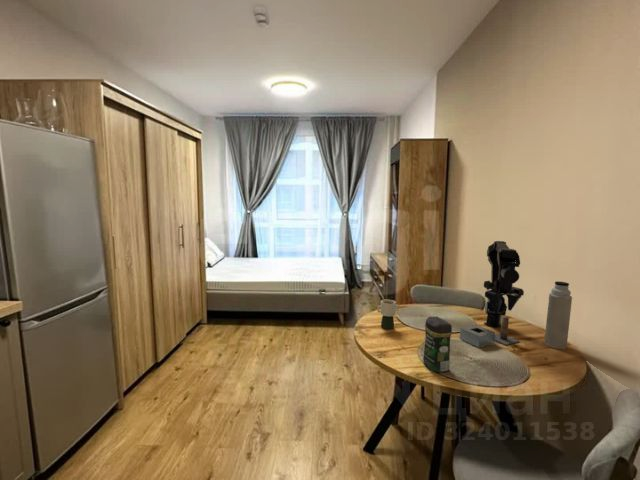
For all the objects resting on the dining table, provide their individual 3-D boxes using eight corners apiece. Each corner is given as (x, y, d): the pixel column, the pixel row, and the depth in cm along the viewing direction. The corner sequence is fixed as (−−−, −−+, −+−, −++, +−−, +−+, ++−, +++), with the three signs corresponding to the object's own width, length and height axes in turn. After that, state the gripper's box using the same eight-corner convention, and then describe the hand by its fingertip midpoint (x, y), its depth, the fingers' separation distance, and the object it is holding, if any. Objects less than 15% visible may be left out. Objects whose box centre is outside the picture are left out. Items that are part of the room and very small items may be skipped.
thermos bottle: (542, 340, 151) (548, 279, 148) (562, 343, 149) (569, 281, 145) (547, 347, 144) (553, 283, 140) (569, 350, 141) (576, 285, 138)
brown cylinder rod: (502, 337, 153) (504, 315, 152) (508, 339, 150) (510, 317, 149) (498, 338, 152) (500, 316, 150) (504, 340, 149) (506, 318, 148)
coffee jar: (419, 361, 130) (422, 315, 127) (438, 359, 131) (441, 314, 129) (433, 374, 120) (436, 324, 118) (452, 372, 122) (456, 323, 120)
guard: (475, 335, 156) (476, 324, 156) (494, 343, 147) (495, 332, 147) (459, 338, 152) (460, 328, 151) (478, 347, 143) (479, 336, 142)
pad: (500, 334, 157) (500, 333, 157) (519, 342, 149) (519, 340, 149) (487, 337, 153) (487, 336, 153) (505, 345, 145) (505, 344, 145)
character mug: (394, 324, 168) (395, 298, 167) (401, 329, 162) (402, 303, 160) (374, 325, 166) (374, 300, 164) (379, 331, 159) (380, 304, 158)
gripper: (502, 272, 160) (500, 303, 162) (475, 275, 152) (473, 309, 154) (525, 277, 150) (522, 311, 152) (498, 281, 142) (495, 317, 144)
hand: (502, 311), depth 151 cm, fingers open, 9 cm apart
